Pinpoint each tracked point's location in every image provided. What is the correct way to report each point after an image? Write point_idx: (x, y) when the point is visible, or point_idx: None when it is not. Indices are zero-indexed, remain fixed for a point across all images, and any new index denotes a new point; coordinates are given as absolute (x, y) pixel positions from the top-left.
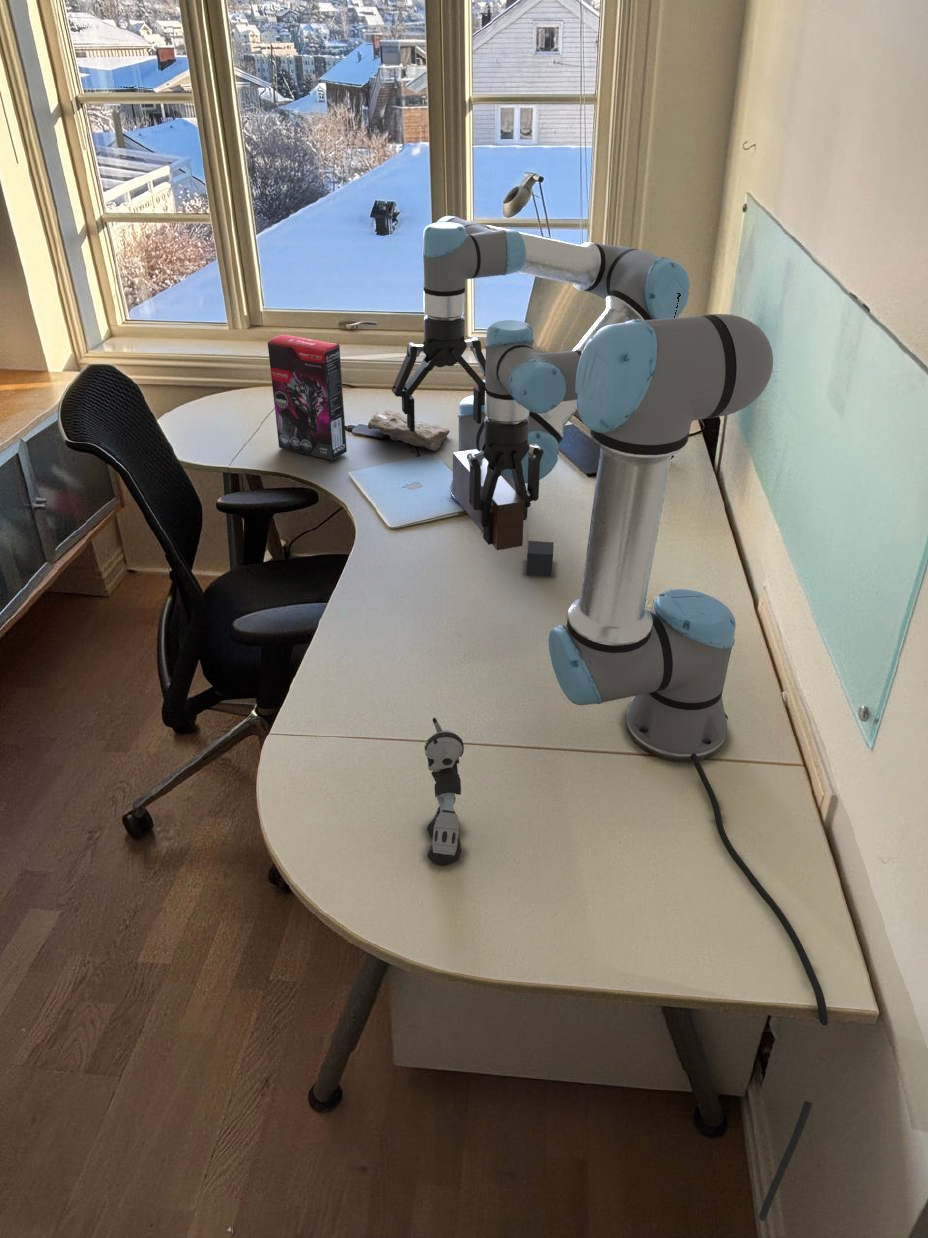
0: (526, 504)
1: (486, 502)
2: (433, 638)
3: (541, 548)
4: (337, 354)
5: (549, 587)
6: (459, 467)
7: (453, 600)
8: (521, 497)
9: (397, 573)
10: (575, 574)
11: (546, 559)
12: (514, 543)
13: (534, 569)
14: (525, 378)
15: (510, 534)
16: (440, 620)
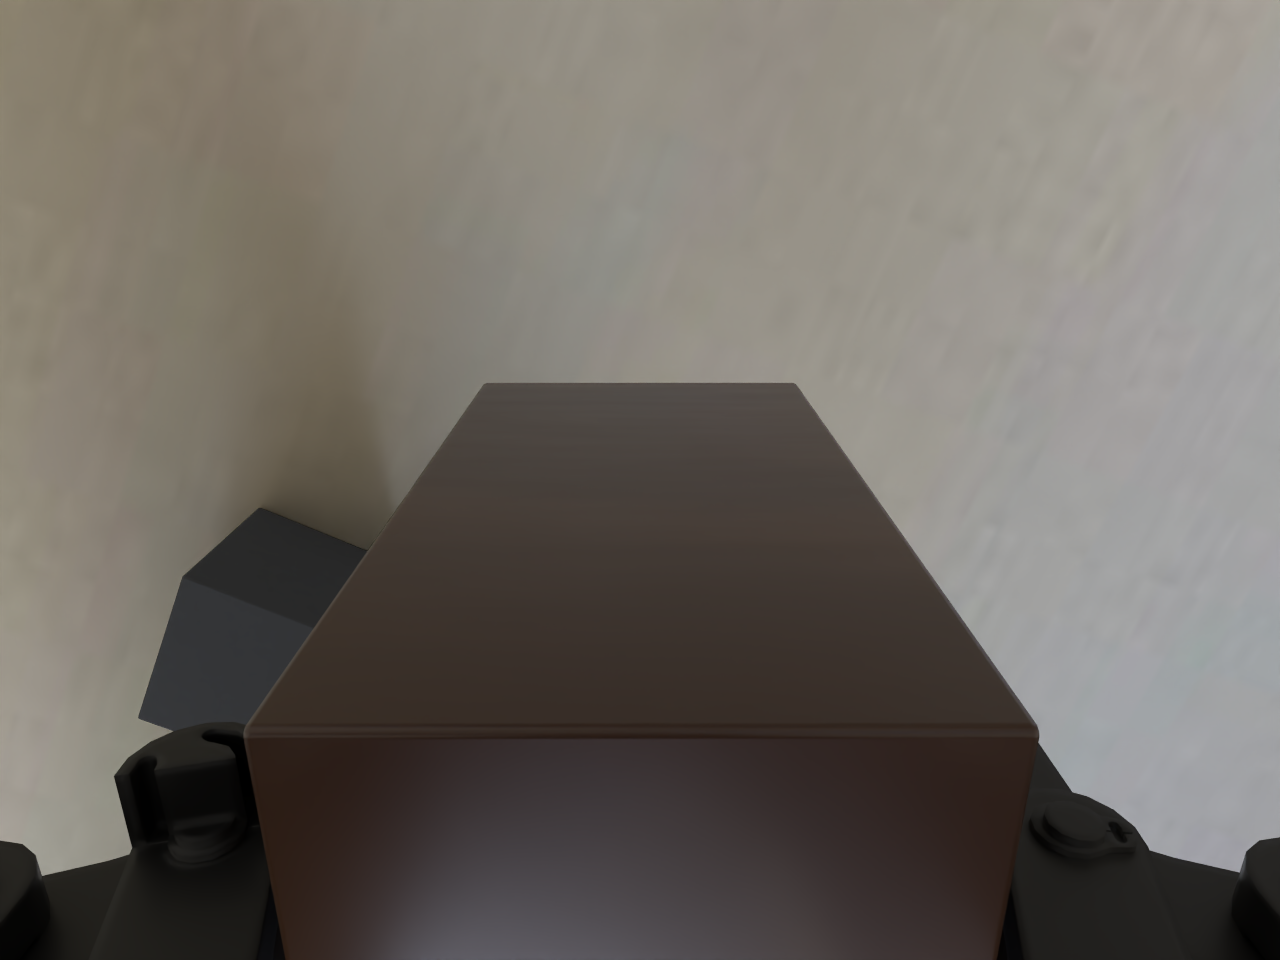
0: (218, 775)
1: (1153, 957)
2: (1234, 82)
3: (244, 669)
4: None
5: (308, 400)
6: None
7: (919, 451)
8: (259, 949)
9: (1077, 786)
10: (105, 485)
11: (246, 574)
12: (580, 393)
13: (347, 567)
14: None
15: (635, 433)
16: (1092, 269)
